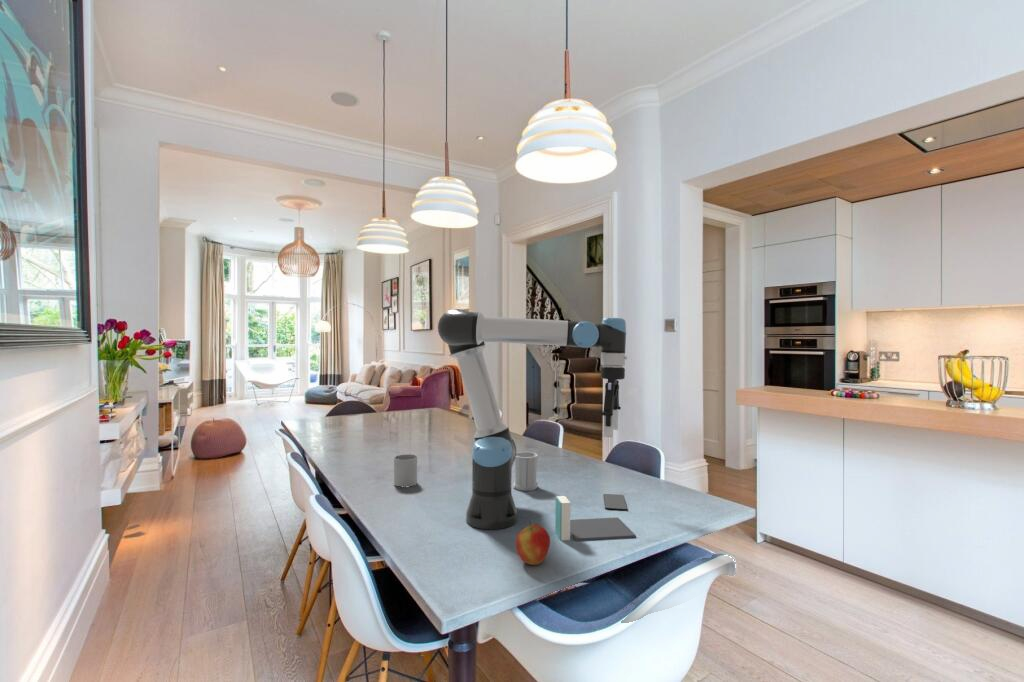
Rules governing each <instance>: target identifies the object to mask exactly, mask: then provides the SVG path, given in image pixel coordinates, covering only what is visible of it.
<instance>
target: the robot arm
mask: <svg viewBox="0 0 1024 682" xmlns="http://www.w3.org/2000/svg"><path fill="white" fill-rule="evenodd" d="M626 327H627V323H626V320H625V318H621V317H604V318H602V321H601V323H593V322H591V321H588V320H582V321H577V320H561V319H559V320H557V319H544V318H543V319H539V318H524V317H523V318H522V317H507V316H505V317H504V316H503V317H502V316H485V315H483V313H481V312H475V311H474V312H473V311H469V310H463V309H461V308H453V309H449V310H447V311H445V312H444V313H443V314H442V315H441V316H440V318H439V319H438V324H437V332H438V336H439V338H440V339H441V340H442V341H443V342H444V343H445V344H447V346H448V349H449V352H450V356H451V357H452V358H454V359H456V360H457V361H456V362H457V365H458V368H459V371H460V375H461V378H462V382H463V386H464V388H465V391H466V392H465V393H466V396H467V398H468V399H467V400H468V402H469V406H470V410H471V413H472V414H471V415H472V417H473V421H474V424H475V427H476V431H475V432H474V435H473V438H474V442H473V446H472V451H471V457H472V467H471V468H472V471H471V474H472V475H471V476H472V479H471V480H472V484H471V486H472V487H471V488H472V492H471V497H470V501H469V504H468V506H467V509H466V512H465V513H466V514H465V518H466V519H465V521H466V523H467V524H468V525H469V526H471V527H473V528H475V529H476V528H477V529H480V530H481V529H482V530H500V529H505V528H510V527H511V526H514V525H515V524H516V523H517V522H518V511H517V507H516V504H515V500H514V498H513V494H512V473H513V472H512V471H513V470H512V467H513V466H514V460H515V458H516V453H517V446H516V442H515V441H514V439H513V438H512V434H511V432H510V429H509V426H508V424H506V423H504V422H503V421H502V417H501V414H500V410H499V407H498V403H497V399H496V396H495V393H494V390H493V386H492V381H491V378H490V375H489V374H490V373H489V371H488V368H487V365H486V361H485V358H484V354H483V351H484V350H485V348H486V344H485V343H486V342H487V343H488V342H489V343H507V344H521V345H523V344H524V345H525V344H526V345H537V346H538V345H539V346H541V345H542V346H543V345H544V346H557V347H558V346H559V347H572V348H582V349H588V348H601V351H600V352H601V353H600V365H601V367H600V378H601V379H603V380H605V379H606V380H607V382H605V385H604V386H605V389H604V390H605V391H604V402H603V410H602V412H601V416H603V435H602V436H603V437H604V438H613V437H614V436H613V434H614V430H615V431H618V430H619V411H620V410H621V409H622V408H621V406H620V399H619V397H620V396H619V394H620V393H619V392H620V391H619V390H620V381H619V380H624V379H625V378H626V377H625V375H626V374H625V373H626V372H625V371H626V368H625V367H624V366H625V365H626V360H628V357H627V356H626V344H627V343H626V341H627V328H626Z"/></svg>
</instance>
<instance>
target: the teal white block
mask: <svg viewBox="0 0 1024 682" xmlns="http://www.w3.org/2000/svg"><path fill="white" fill-rule="evenodd" d="M570 520H571V501H570V500H569V499H568V498H567V497H566V495H556V496H555V522H554V523H555V534H556V536H557V538H558V539H559V541H571V534H570Z"/></svg>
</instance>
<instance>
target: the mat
mask: <svg viewBox="0 0 1024 682" xmlns="http://www.w3.org/2000/svg"><path fill="white" fill-rule="evenodd" d="M570 536H571V537H572V539H573V540H574V541H575V542H577V541H579V542H580V541H595V540H596V541H597V540H610V539H611V540H612V539H630V538H631V539H632V538H633V539H634V538H637V537H636V536H637V535H636V533H634V532H633V531H632V530H631V529H630V528H629V527H628V526H627V525H626V524H625V523H624V522H623V520H621V519H620V518H619V516H618V517H602V518H601V517H600V518H583V519H582V518H581V519H579V518H577V519H576V518H575V519H570Z"/></svg>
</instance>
